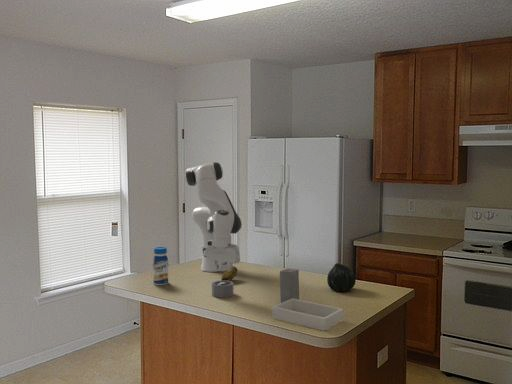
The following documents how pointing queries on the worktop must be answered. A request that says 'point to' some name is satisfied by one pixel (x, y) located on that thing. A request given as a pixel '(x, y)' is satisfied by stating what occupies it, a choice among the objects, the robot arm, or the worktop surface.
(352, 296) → the worktop surface
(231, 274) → the potato
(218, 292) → the faceted grey cup
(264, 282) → the worktop surface
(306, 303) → the frame
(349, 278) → the squash
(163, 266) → the beverage bottle
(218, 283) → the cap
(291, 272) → the skincare box
